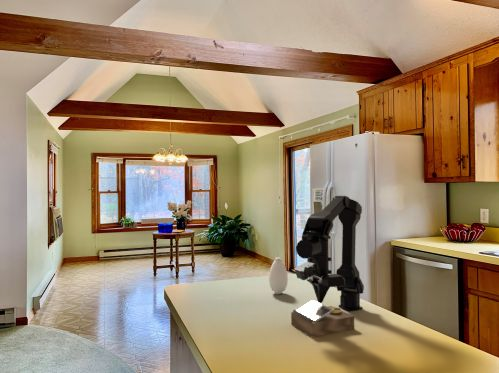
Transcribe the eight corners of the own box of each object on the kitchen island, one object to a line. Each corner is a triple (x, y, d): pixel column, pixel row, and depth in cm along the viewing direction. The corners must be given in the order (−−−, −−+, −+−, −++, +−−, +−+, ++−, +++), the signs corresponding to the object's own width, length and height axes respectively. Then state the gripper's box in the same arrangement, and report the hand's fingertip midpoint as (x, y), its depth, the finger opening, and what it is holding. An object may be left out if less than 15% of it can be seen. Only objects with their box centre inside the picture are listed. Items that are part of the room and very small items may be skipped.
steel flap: (313, 301, 127) (312, 300, 127) (332, 310, 117) (332, 309, 117) (296, 312, 125) (295, 310, 125) (315, 322, 115) (314, 320, 115)
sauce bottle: (266, 292, 164) (265, 251, 164) (281, 290, 167) (281, 249, 168) (274, 297, 157) (274, 253, 157) (291, 294, 160) (290, 252, 160)
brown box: (331, 317, 131) (331, 303, 131) (354, 328, 120) (354, 313, 120) (291, 324, 124) (291, 309, 124) (311, 337, 113) (311, 320, 114)
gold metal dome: (335, 320, 127) (335, 306, 127) (343, 325, 123) (343, 310, 123) (323, 322, 125) (323, 308, 125) (332, 327, 121) (332, 312, 121)
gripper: (283, 251, 127) (284, 298, 127) (314, 260, 110) (315, 314, 110) (311, 249, 132) (312, 294, 132) (345, 257, 115) (346, 309, 115)
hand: (320, 302), depth 122 cm, fingers closed
